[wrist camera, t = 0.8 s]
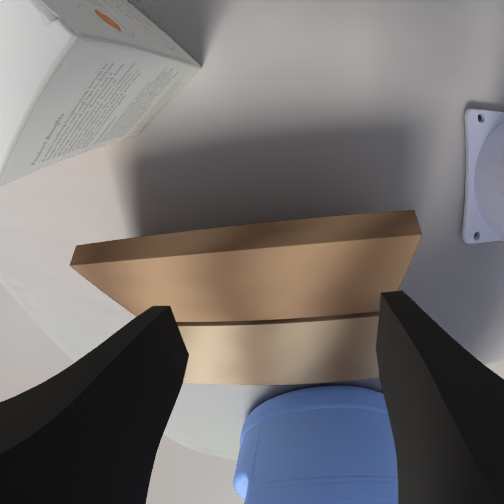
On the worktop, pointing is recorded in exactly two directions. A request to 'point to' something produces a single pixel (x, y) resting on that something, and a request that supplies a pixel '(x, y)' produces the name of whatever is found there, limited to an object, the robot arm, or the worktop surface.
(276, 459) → the water jug
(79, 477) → the robot arm
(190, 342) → the oak floor strip
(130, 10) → the small box
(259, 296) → the walnut plank
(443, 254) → the worktop surface
